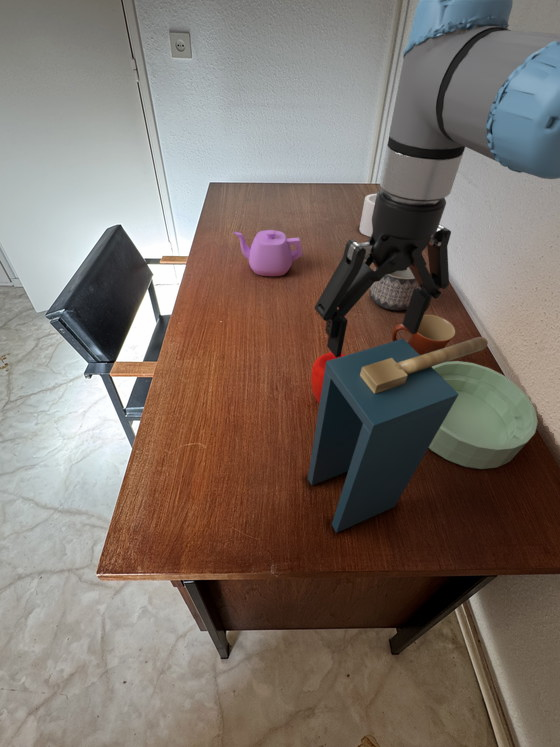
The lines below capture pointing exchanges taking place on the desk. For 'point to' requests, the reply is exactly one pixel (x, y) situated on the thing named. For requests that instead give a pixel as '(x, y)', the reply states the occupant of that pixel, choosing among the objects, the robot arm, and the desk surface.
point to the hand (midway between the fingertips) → (372, 339)
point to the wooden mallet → (414, 364)
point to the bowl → (483, 417)
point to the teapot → (270, 252)
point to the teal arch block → (375, 431)
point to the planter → (394, 290)
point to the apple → (320, 373)
